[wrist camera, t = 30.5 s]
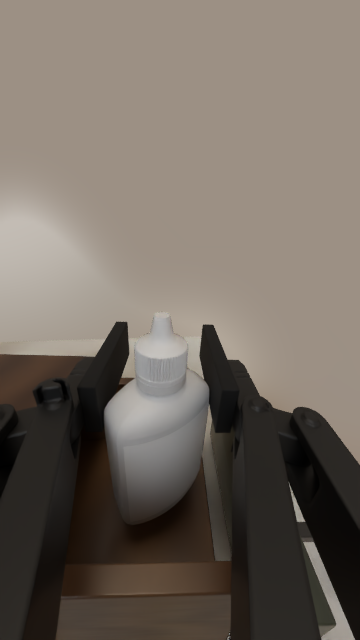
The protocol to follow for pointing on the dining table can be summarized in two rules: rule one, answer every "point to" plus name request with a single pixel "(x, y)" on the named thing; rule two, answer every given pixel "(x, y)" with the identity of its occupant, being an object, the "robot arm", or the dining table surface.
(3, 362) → the cabinet
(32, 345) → the dining table surface
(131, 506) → the eye dropper bottle
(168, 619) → the drawer
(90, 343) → the dining table surface
